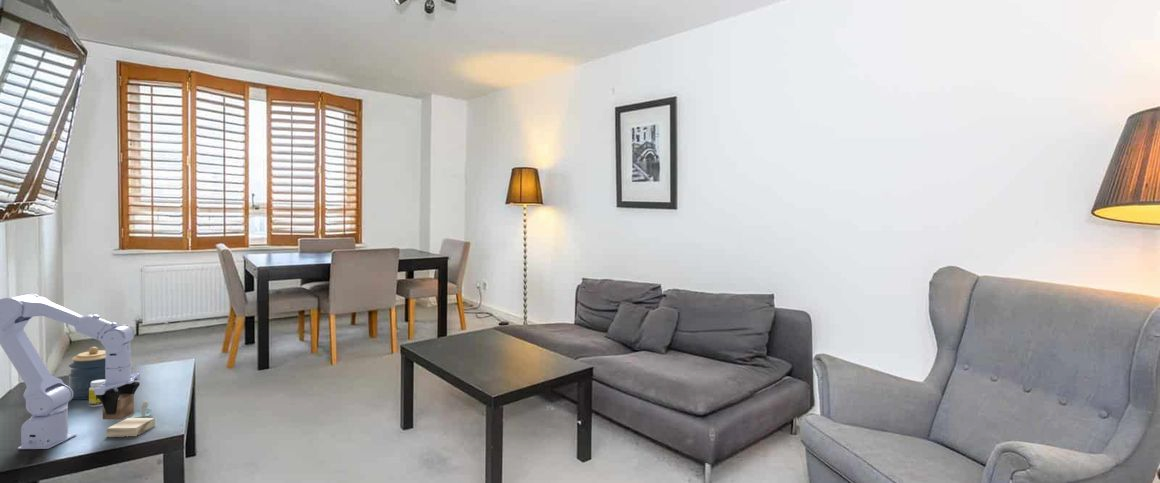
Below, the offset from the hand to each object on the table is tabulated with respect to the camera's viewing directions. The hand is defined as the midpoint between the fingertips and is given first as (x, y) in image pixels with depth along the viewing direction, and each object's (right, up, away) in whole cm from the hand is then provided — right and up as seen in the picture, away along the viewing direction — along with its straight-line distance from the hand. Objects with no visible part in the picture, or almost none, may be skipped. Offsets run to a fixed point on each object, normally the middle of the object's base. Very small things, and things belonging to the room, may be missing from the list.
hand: (118, 410), depth 155 cm
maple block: (0, -8, +4) cm, 9 cm away
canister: (-40, -5, +34) cm, 53 cm away
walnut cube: (0, -2, 0) cm, 2 cm away
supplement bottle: (-29, -6, +24) cm, 38 cm away
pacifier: (-5, -8, +13) cm, 16 cm away
